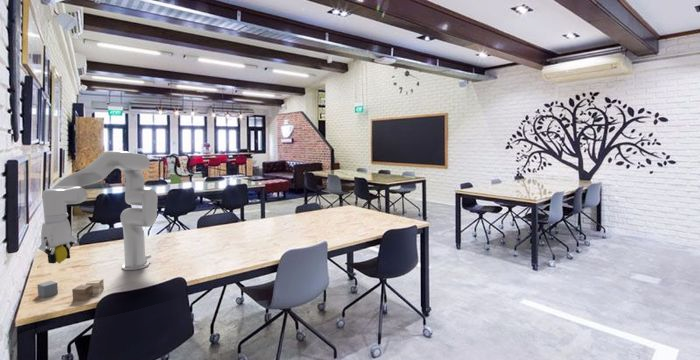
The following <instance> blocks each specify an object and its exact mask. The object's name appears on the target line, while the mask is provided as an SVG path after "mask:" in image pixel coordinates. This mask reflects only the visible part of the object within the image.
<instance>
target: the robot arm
mask: <svg viewBox="0 0 700 360" xmlns="http://www.w3.org/2000/svg"><path fill="white" fill-rule="evenodd" d="M149 167H150V159H149V157H148V156H147V155H146V154H142V153H136V152H131V151H130V152H129V151H127V150H126V151H124V150H108V151H107V150H106V151H104V152H103V153H101V154H100V155H99V156H98V157H96V158H95V159H94V160H93V161H92V162H91V163H89V164H88V166H87V167H85V168H83V169H80V170H78V171H76V172H73V173H72V174H69V175H68V176H67V175H66V176H65V177H63V178H62V179H61V180H60V181H58V182H57V183H56V184H55V185H54V186H53V187H52V188H48V189H45V190H42V193H41V194H42V195H41V196H42V205H43V206H42V207H43V208H42V209H43V220H44V223H42V225H41V230H40V233H41V234H40V239H41V240H40V241H41V242H40V243H41V244H40V245H39V247H38V249H39V250H40V251H42V252H43V253H44V254H45V255H47V262H48V264H52V265H53V264H56V263H57V262H56V255H55V254H54V250H55V247H56V246H64V247H65V248H66V250H67V257H66V259H71V252H70V251H71V249H72V245H73V244H74V242H75V241H76V237H75V236H73V233H72V228H71V224H70V221H69V219H68V217H69V216H70V214H69V213H68V212H67V211H68V210H67V205H77V204H81V203H83V202H85V201H86V200H87V198H88V192H87V190H86V189H85V188H84V187H85V186H89V185H93V184H96V183H97V184H98V183H100V182H102V181H103V180H104V179H105V178H107V177H108V175H110V174H111V172H113V171H114V170H115V169H118V170H119V171H120V172H121V173H123V175H124V179H125V189H124V201H125V203H126V204H127V205H131V206H140V207H128V208H125V209H123V210H122V212H121V213H120V216H119V217H120V222H121V226H122V233H123V252H124V263H123V264H122V265H121V269H122V270H125V271H135V270H140V269H145V268H147V267H148V266H149V265H150V263H149V261H147V260H149V259H151V258H152V255H151V254H147V255H146V246H145V245H146V244H145V243H146V242H145V232H144V229H143V228H149V227H153V226H154V225H155V223H156V222H157V221H156V220H157V218H158V217H157V213H158V199H159V198H158V193H157V192H156V191H155V189H153V188H152V187H145V177H144V174H143V173H142V172H144V171H146V170H148V169H149ZM66 259H65V260H66Z"/></svg>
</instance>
